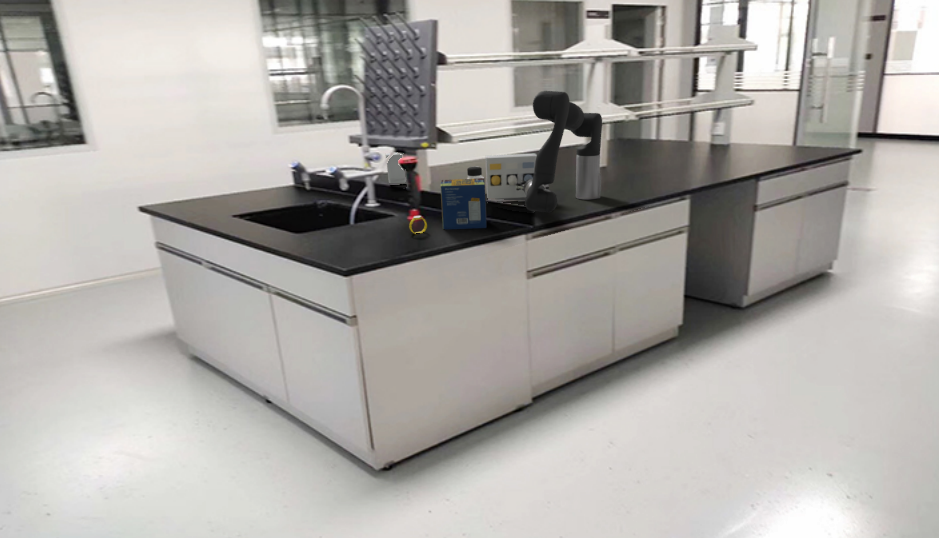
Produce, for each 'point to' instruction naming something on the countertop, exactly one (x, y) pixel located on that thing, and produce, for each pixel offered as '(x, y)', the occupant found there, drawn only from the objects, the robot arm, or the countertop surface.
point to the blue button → (527, 177)
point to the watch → (417, 219)
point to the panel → (504, 168)
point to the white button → (512, 179)
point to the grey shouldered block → (395, 169)
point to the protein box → (463, 203)
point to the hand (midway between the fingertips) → (529, 181)
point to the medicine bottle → (474, 172)
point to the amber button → (495, 179)
